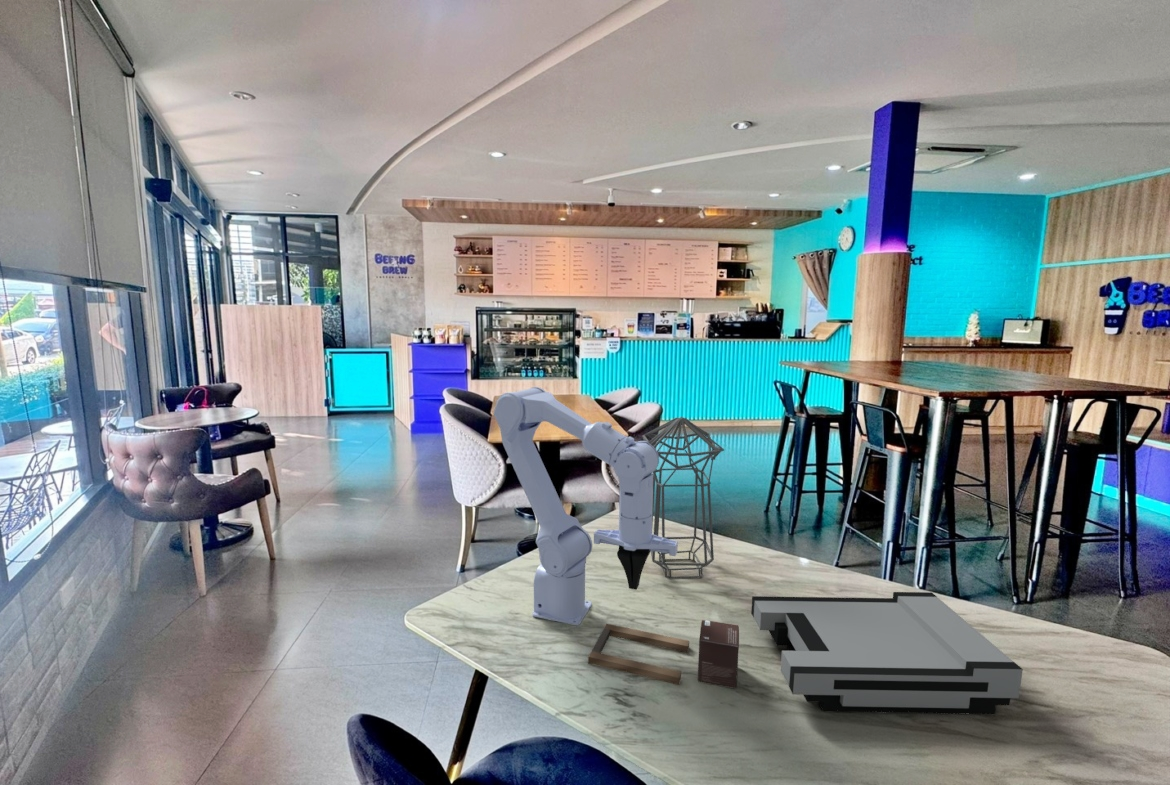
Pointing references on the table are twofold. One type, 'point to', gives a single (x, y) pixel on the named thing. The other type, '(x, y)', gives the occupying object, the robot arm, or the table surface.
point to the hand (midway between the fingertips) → (634, 586)
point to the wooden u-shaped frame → (634, 666)
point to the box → (718, 654)
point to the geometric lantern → (715, 451)
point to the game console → (886, 654)
